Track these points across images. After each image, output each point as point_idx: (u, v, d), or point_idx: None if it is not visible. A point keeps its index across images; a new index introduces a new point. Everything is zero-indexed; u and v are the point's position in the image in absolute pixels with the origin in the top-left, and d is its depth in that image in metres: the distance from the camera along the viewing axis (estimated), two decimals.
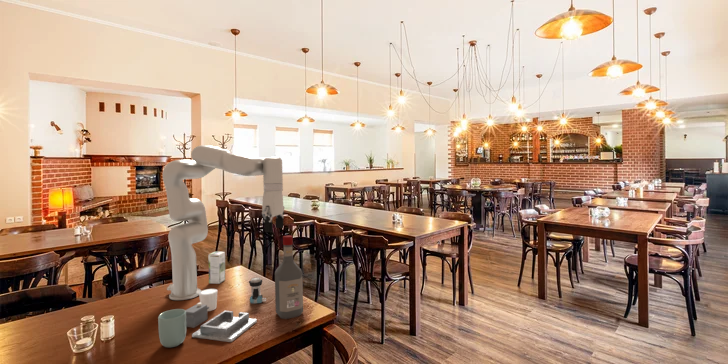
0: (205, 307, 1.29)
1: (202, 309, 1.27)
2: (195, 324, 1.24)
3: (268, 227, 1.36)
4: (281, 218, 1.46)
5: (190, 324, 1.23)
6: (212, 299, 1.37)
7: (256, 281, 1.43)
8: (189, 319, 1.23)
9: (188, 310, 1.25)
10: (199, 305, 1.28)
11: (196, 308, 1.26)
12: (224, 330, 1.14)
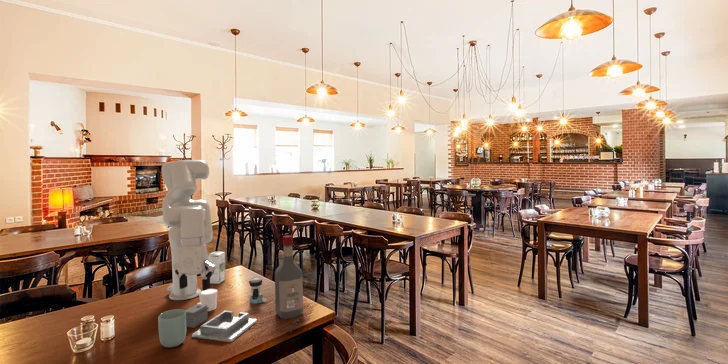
0: (205, 307, 1.29)
1: (202, 309, 1.27)
2: (195, 324, 1.24)
3: (209, 283, 1.25)
4: (185, 276, 1.28)
5: (190, 324, 1.23)
6: (212, 299, 1.37)
7: (256, 281, 1.43)
8: (189, 319, 1.23)
9: (188, 310, 1.25)
10: (199, 305, 1.28)
11: (196, 308, 1.26)
12: (224, 330, 1.14)
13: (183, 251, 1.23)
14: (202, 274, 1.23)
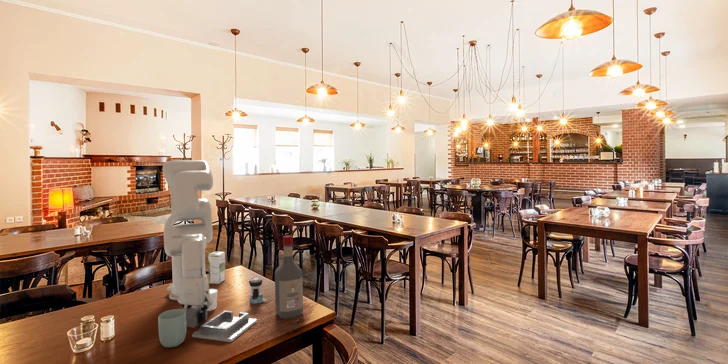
0: None
1: None
2: (195, 324, 1.24)
3: (204, 316, 1.26)
4: None
5: (190, 324, 1.23)
6: (212, 299, 1.37)
7: (256, 281, 1.43)
8: (189, 319, 1.23)
9: (188, 310, 1.25)
10: None
11: (196, 308, 1.26)
12: (224, 330, 1.14)
13: (184, 282, 1.24)
14: (199, 307, 1.25)
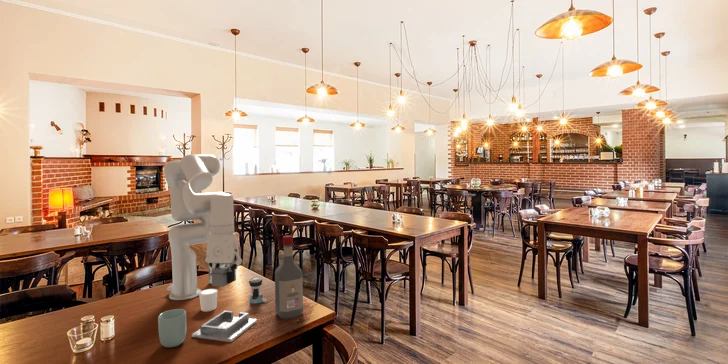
0: None
1: None
2: (224, 283, 1.18)
3: (233, 276, 1.20)
4: None
5: (219, 283, 1.17)
6: (212, 299, 1.37)
7: (256, 281, 1.43)
8: (218, 278, 1.17)
9: (216, 269, 1.19)
10: None
11: (224, 267, 1.20)
12: (224, 330, 1.14)
13: (213, 239, 1.18)
14: (228, 266, 1.19)
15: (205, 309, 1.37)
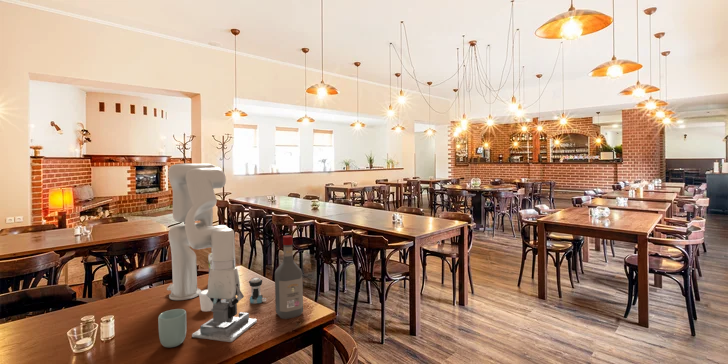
0: None
1: None
2: (225, 318, 1.18)
3: (234, 310, 1.21)
4: None
5: (220, 319, 1.18)
6: None
7: (256, 281, 1.43)
8: (219, 313, 1.18)
9: (218, 304, 1.19)
10: None
11: (226, 302, 1.21)
12: (224, 330, 1.14)
13: (214, 275, 1.18)
14: (229, 301, 1.19)
15: (205, 309, 1.37)
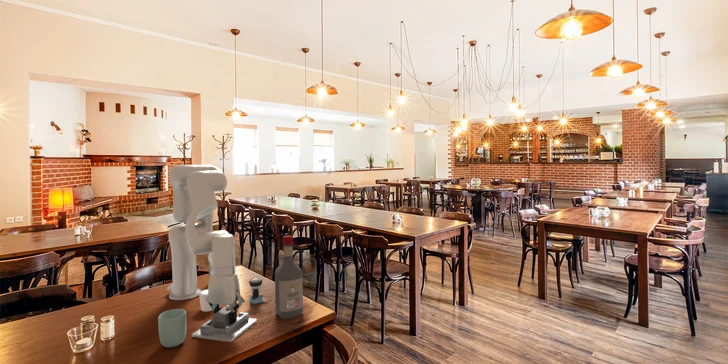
0: None
1: None
2: None
3: (236, 316, 1.21)
4: (219, 308, 1.23)
5: None
6: None
7: (256, 281, 1.43)
8: (219, 322, 1.18)
9: (218, 313, 1.19)
10: (228, 308, 1.23)
11: (226, 311, 1.21)
12: (224, 330, 1.14)
13: (214, 280, 1.19)
14: (230, 306, 1.19)
15: (205, 309, 1.37)
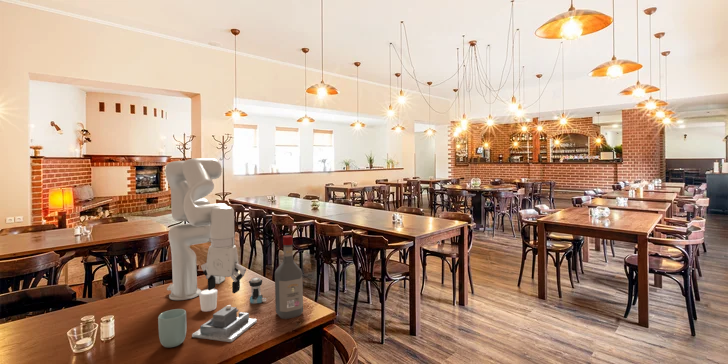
0: (235, 310, 1.23)
1: (232, 312, 1.22)
2: None
3: (238, 286, 1.20)
4: (213, 277, 1.23)
5: None
6: (212, 299, 1.37)
7: (256, 281, 1.43)
8: (219, 322, 1.18)
9: (218, 313, 1.19)
10: (228, 308, 1.23)
11: (226, 311, 1.21)
12: (224, 330, 1.14)
13: (213, 252, 1.18)
14: (232, 276, 1.19)
15: (205, 309, 1.37)
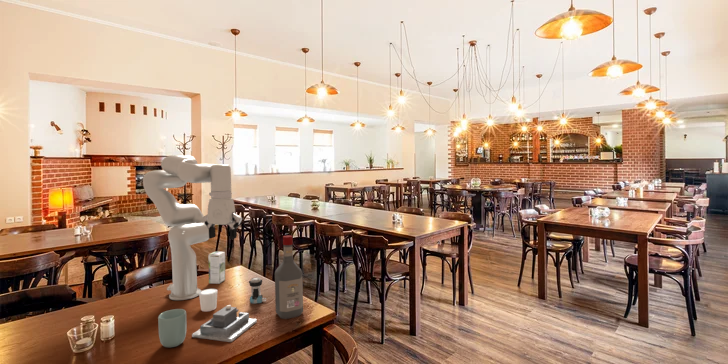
0: (235, 310, 1.23)
1: (232, 312, 1.22)
2: None
3: (235, 233, 1.38)
4: (214, 227, 1.41)
5: None
6: (212, 299, 1.37)
7: (256, 281, 1.43)
8: (219, 322, 1.18)
9: (218, 313, 1.19)
10: (228, 308, 1.23)
11: (226, 311, 1.21)
12: (224, 330, 1.14)
13: (213, 203, 1.36)
14: (230, 224, 1.36)
15: (205, 309, 1.37)
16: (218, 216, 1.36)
